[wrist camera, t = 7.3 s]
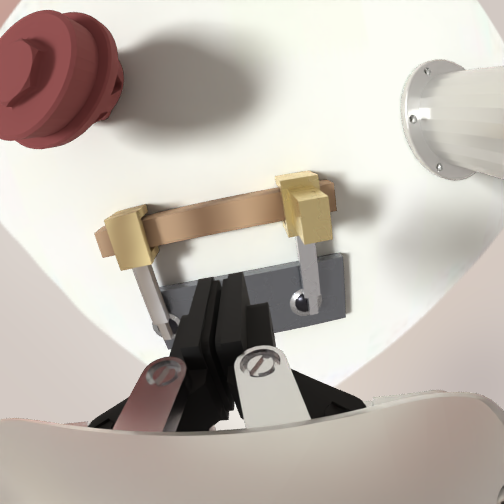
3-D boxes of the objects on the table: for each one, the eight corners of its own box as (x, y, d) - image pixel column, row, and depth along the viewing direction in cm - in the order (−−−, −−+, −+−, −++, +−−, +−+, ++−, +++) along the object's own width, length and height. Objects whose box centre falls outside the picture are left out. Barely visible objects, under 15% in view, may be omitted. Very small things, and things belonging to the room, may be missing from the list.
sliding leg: (308, 169, 25) (334, 183, 19) (323, 299, 30) (344, 341, 24) (274, 175, 25) (289, 190, 19) (295, 305, 30) (309, 349, 24)
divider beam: (325, 167, 25) (336, 171, 22) (337, 295, 30) (347, 311, 27) (99, 215, 26) (84, 226, 23) (142, 329, 31) (134, 348, 28)
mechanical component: (136, 145, 24) (45, 140, 22) (157, 38, 20) (63, 42, 19) (62, 159, 12) (-45, 157, 11) (103, -21, 9) (-18, 13, 7)
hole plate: (339, 252, 28) (343, 257, 27) (342, 312, 31) (345, 318, 30) (142, 290, 29) (139, 295, 28) (164, 344, 31) (162, 350, 30)
